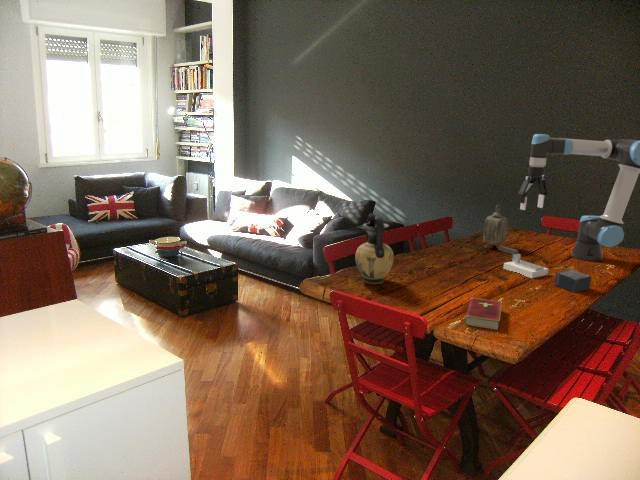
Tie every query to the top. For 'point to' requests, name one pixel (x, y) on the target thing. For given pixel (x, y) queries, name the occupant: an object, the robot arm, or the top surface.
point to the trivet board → (525, 270)
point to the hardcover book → (483, 313)
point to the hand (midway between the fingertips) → (531, 208)
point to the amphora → (374, 252)
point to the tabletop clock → (495, 228)
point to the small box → (573, 280)
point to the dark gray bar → (517, 259)
